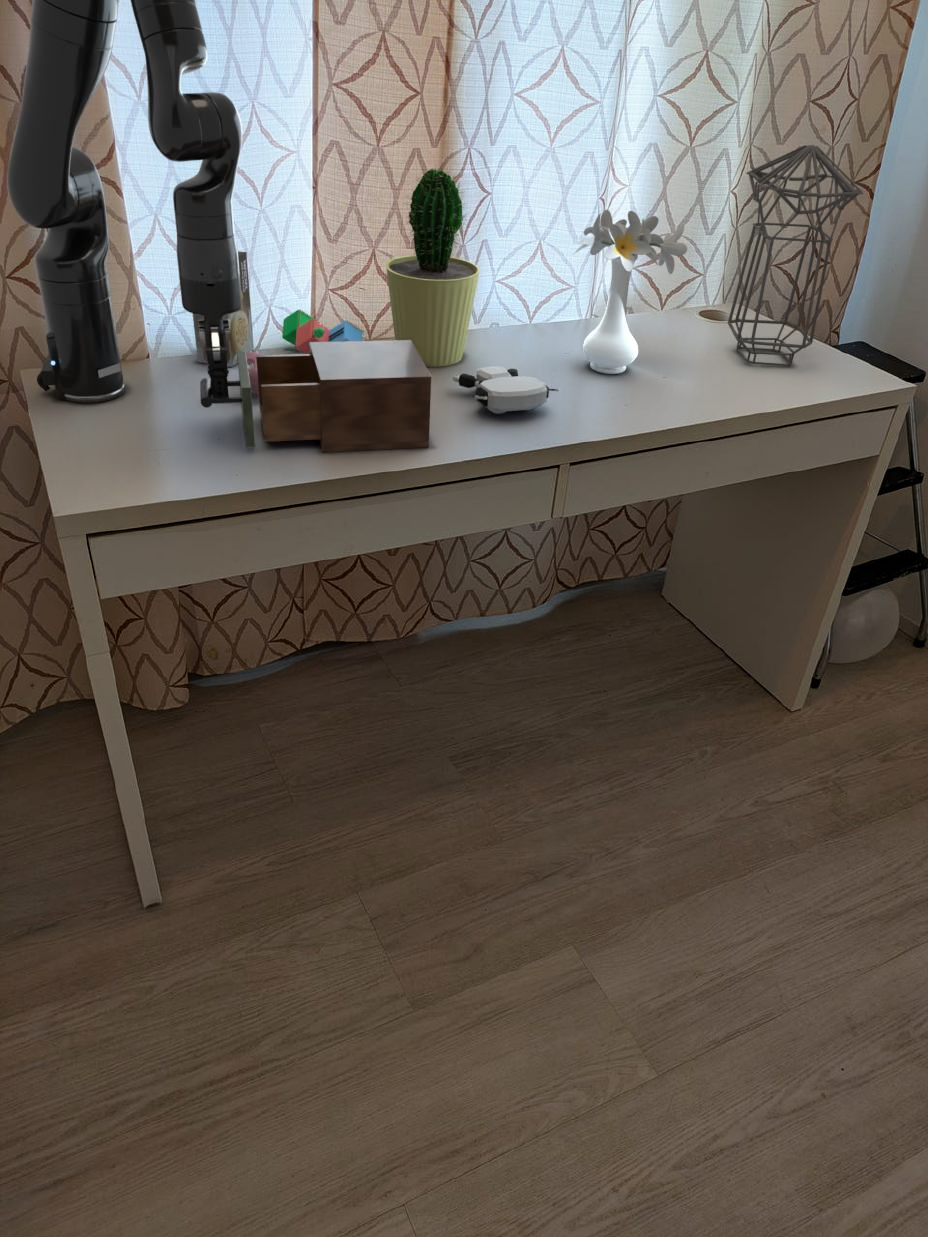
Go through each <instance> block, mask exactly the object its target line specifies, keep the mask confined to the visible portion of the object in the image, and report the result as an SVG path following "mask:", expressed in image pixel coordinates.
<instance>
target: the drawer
mask: <svg viewBox="0 0 928 1237" xmlns="http://www.w3.org/2000/svg"><path fill="white" fill-rule="evenodd" d="M237 359H238V363H237V370H238V372H237V373H238V380H227V381H228V387H239V396H236V397H230V396H229V398H212V390H211V379H209V378H208V377H204V378H201V380H199V381H200V382H199V389H200V390H199V391H200V392H199V394H200V405H201V406H202V407H203V408H206V409H207V408H210V407H211V406H212V405H213V404H214V405H215V404H216V405H217V404H240V408H241V409H240V410H241V416H242V426H243V434H244V443H245V448H255V447H256V443H255V442H256V440H255V426H254V412H253V400H252V398H253V397H252V391H251V386H250V379H249V372H248V365H247V358H246V352H237ZM256 359H257V374H258V389H259V396H258V401H259V412H260V417H261V425H262V430H263V438H264V443H265V442H266V443H267V442H290V441H291V442H293V441H313V440H314V441H316V440H319V439H322V434H321V400H320V382H319V379H318V375H317V372H316V369H315V365H314V362H313V359H312V355H311V354H304V353H290V354H289V353H288V354H263V355H256Z"/></svg>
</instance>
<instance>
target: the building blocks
mask: <svg viewBox="0 0 928 1237" xmlns="http://www.w3.org/2000/svg"><path fill="white" fill-rule="evenodd" d="M364 332H365V331H364V330H363V329H361V328H360V327H359V326H357V325H356V324H354V323H352V322H351V321H349V320H344V321H342V322H339V324H337V325H335V326H334V327H332V328H330V329H329V328H328V327H326V326H325V325H324V324H323V323H320V322H319V321H318V319H316V318H314V316H311V315H310V314H308V313H307V312H305V311H303V310H302V309H297V310H295V311H294V312H292V313H291V314H289V315H287V316H286V317H284V319H283V322H282V334H281V337H282V339H283V340H285V341H286V342H288V343H290V344H291V345H293V346H294V348H295V349H296V350H297V351H299V352H301V353H302V354H310V352H309V342H343V341H363V335H364V334H363V333H364Z"/></svg>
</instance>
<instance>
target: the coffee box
mask: <svg viewBox="0 0 928 1237" xmlns="http://www.w3.org/2000/svg"><path fill="white" fill-rule="evenodd" d="M238 258H239V272H240V286H241V299H242V306H241V308H240V309H239V310H238V311H236V312H234V313H231V314H229V313H228V314H225V315H223V319H229V325H230V336H231V338H230V340H229V348H230V360H229V361H227V365H228V367H231V368H233V367H235V365H238V359H237V352H246V353H248V352H250V351H252V352H253V350H255V345H254V333H253V332H254V331H253V322H252V321H253V320H252V318H253V317H252V305H251V294H250V281H249V280H250V279H249V268H248V252H247V251H239V250H238ZM191 314H192V321H193V330H194V340H195V349H196V359H197V363H199V364H200V363H201V364H207V365H208V362H207V361H205V360H204V356H203V346H202V341H201V340H200V336H199V322H198V320H204V316H202V315H200V314H193V313H191ZM224 340H225V339H224ZM206 344H207V343H206Z"/></svg>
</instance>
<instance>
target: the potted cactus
mask: <svg viewBox="0 0 928 1237" xmlns="http://www.w3.org/2000/svg"><path fill="white" fill-rule="evenodd" d="M436 166H437V165H434V168H431V169H428V168H426V166H425V168H426V169H425V170H426V171H425V170H424V169H422V171H423V172H421V171H420V173H421V174H422V175H419V174H417V175H418V176H416V180H413V182H414V183H415V184H416V186H415V189H414V187H412V194H411V197H409V196H406V198H408V199H409V200H411V202H410V204H409V203H406V202H404V205H409V207H407V210H409V211H407V212H405V214H407V215H408V216H406V219H404V220H406V221H407V224H409V225H410V226H411V229H412V230H410V232H409V236H407V238H408V237H409V241H411V242H408V245H411V244H412V245H413V246H414V247H411V250H412V249H413V251H414V252H413V253H412V255H403V256H398V257H395V258H391V259H390V260H388V261H387V262H386V263H385V266H384V267H385V268H386V277H387V286H388V294H389V302H390V310H391V316H392V325H393V332H394V340H411V341H412V343H413V344H414V346H415V348H416V350H417V352H418V353H419V355H420V357H421V359H422V361H423V362H424V364H425V366H426V367H431V368H432V367H435V368H436V367H437V368H438V367H447V366H451V365H455V364H457V363H459V362H460V361H461V360H462V358H463V356H464V351H465V347H466V342H467V337H468V333H469V328H470V322H471V318H472V312H473V307H474V302H475V298H476V292H477V289H478V288H477V287H478V283H479V277H480V276H479V275H480V272H481V270H480V267H479V266H478V265H477V264H475V263H473V262H471V261H469V260H466V259H462V258H459V257H454V256H452V255H453V254H454V253H453V250H454V248H455V249H459V247H457V244H459V243H456V245H455V242H454V241H459V240H458V237H459V234H458V233H457V232H459V231H460V233H461V234H462V235H464V233H463V232H464V229H463V228H462V227H463V226H464V225H465V223H463V221H468V219H467V215H468V214H469V212H466V214H463V211H466V208H467V207H465V206H466V203H465V202H464V203H463V202H462V200H464V198H463V197H464V195H463V194H464V191H462V190H460V188H461V185H460V183H458V185H456V183H457V181H458V179H459V178H457V179H455V180H453V179H454V177H455V176H456V175H457V174H454V175H453V176H452V177H451V175H452V171H453V170H451V171H450V168H449V171H450V172H449V171H448V170H447V171H448V172H447V171H443V169H440V170H439V169H437V168H436ZM464 208H465V209H464ZM462 231H463V232H462ZM410 235H411V237H413V238H410ZM412 241H413V242H412Z"/></svg>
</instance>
